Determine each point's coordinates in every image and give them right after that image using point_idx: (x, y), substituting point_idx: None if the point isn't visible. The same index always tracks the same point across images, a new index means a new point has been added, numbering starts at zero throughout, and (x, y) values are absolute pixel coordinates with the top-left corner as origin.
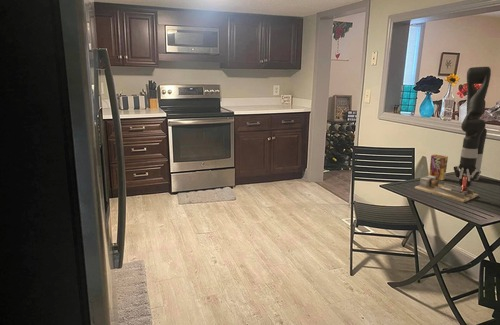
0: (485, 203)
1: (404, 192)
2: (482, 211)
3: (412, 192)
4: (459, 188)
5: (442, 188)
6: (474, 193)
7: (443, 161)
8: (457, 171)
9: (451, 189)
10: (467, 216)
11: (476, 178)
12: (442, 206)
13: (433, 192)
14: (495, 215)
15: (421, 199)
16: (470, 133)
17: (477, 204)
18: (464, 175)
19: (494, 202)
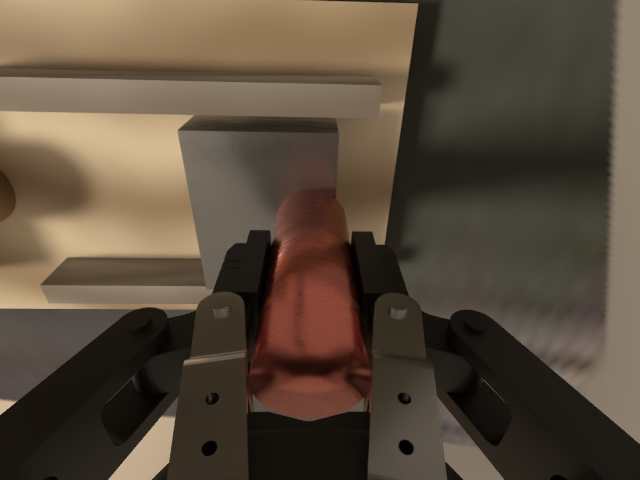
0: (524, 181)
1: (5, 397)
2: (525, 341)
3: (22, 366)
4: (246, 210)
5: (128, 296)
6: (371, 14)
7: None
8: (94, 472)
9: (210, 284)
10: (467, 435)
11: (515, 343)
12: (313, 418)
13: (108, 306)
14: (605, 343)
15: (168, 415)
16: None
17: (470, 253)
18: (261, 364)
19: (605, 77)
